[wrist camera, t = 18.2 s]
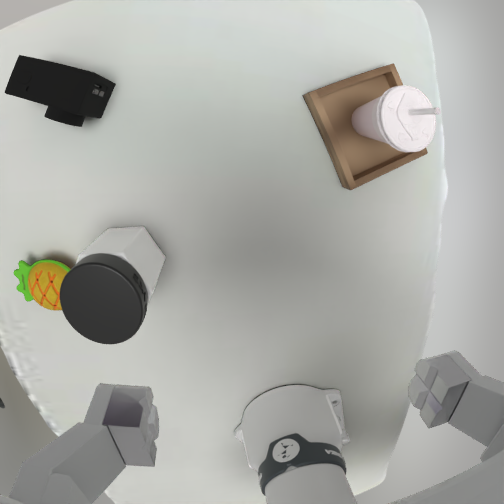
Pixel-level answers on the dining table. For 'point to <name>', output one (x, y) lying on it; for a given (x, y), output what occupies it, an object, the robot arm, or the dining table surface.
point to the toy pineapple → (42, 282)
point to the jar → (112, 285)
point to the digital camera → (60, 89)
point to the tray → (344, 135)
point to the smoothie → (398, 119)
